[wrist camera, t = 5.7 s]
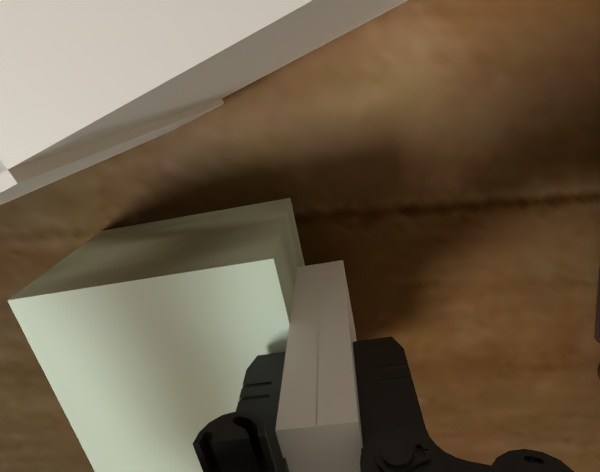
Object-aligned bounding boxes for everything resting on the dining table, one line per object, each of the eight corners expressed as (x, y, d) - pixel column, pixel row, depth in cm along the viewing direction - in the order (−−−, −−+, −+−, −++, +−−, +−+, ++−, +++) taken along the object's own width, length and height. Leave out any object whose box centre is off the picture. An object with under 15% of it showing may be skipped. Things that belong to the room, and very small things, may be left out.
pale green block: (162, 381, 18) (105, 492, 13) (102, 229, 15) (7, 300, 11) (325, 361, 17) (325, 472, 12) (290, 196, 15) (273, 258, 10)
